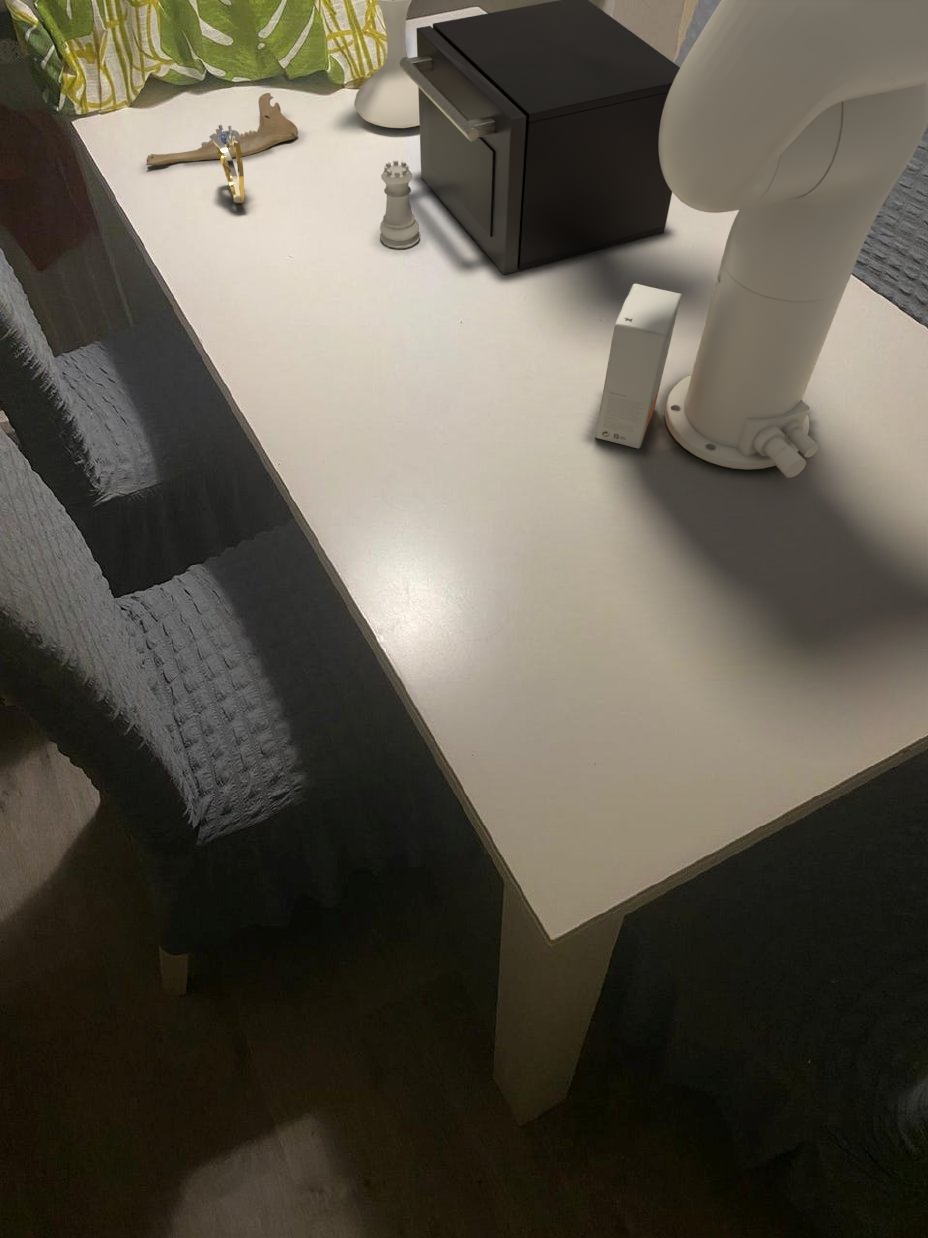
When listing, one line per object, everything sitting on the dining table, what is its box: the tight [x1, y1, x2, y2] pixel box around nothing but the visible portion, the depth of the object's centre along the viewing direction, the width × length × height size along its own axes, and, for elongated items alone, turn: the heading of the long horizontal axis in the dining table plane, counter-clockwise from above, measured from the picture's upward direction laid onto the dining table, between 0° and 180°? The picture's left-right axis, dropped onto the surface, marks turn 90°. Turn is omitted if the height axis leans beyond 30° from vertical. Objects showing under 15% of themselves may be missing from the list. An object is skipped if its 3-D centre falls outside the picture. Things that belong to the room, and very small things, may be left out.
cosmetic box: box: [594, 283, 682, 449], centre depth 76 cm, size 6×4×12 cm
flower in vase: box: [353, 0, 420, 129], centre depth 105 cm, size 13×11×25 cm
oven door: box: [400, 25, 526, 276], centre depth 94 cm, size 5×22×16 cm, turn 25°
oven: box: [432, 0, 681, 272], centre depth 97 cm, size 18×22×16 cm
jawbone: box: [145, 92, 299, 166], centre depth 109 cm, size 9×20×2 cm, turn 140°
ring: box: [208, 124, 245, 204], centre depth 100 cm, size 7×3×8 cm, turn 19°
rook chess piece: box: [379, 160, 421, 250], centre depth 95 cm, size 4×4×8 cm
